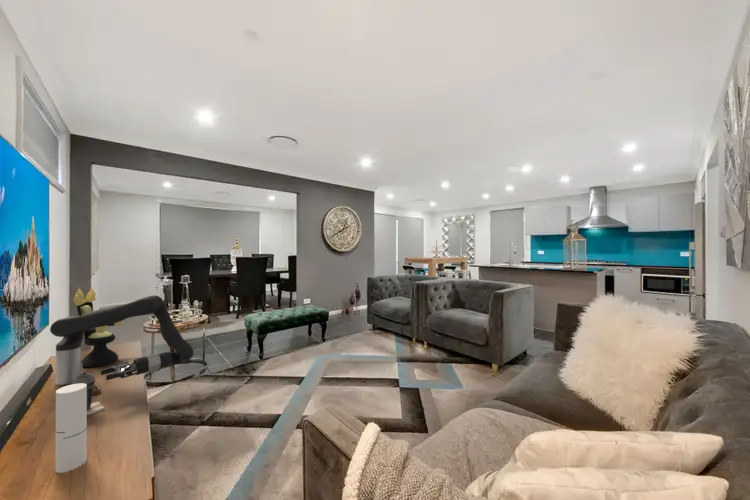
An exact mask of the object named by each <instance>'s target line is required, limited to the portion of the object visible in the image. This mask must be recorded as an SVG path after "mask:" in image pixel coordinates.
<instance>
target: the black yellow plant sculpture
mask: <svg viewBox="0 0 750 500" xmlns="http://www.w3.org/2000/svg"><path fill="white" fill-rule="evenodd" d="M96 300H97V298H96V292H95V291H94V289H93V287H91V288H90V290H89V291H88V293H87V294H86V296H85V294H84V292H83V291H82V290H81V289H80V288H78V289H77V292H75V294H74V296H73V299H72V301H73V304H75V305H76V310H77V314H78V315H77V316H81V315H84V314H87V313H89V312H92V311H94V305H93V302H95V301H96ZM124 321H125V320H123V321H120V322H117V323H114V324H110V325H107V326H102V327H97V328H91V329H85V330H84V333H83V342H84V345H86V346H92V347H93V348H92V350H91V351H90V352H89V353H88V354H86V355H85V356H84V357H83V358H82V359H81V363H82V366H83V367H84V366H85V367H84V368H93V367H92V366H97V367H101V366H100V365H102V366H106V365H109V364H108V363H110V364H112V363H114V362H115V360H116V361H117V360H118V359H119V355H118V354H117V353H116V352H115V351H113V350H112V349H111V348H110V349H109V348H108V346H107V344H109V343H112V342H114V341H115V339H116V335H115V334H114V333H112V332H111V331H106V329H107V328H108V327H113V326H117V327H118V326H123V325H124V324H123V322H124ZM111 362H112V363H111ZM105 364H106V365H105Z"/></svg>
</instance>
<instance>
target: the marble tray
mask: <svg viewBox="0 0 750 500" xmlns="http://www.w3.org/2000/svg"><path fill="white" fill-rule="evenodd" d="M99 394H102V388H101V387H100V386H99V385H98V384H97V383H95V382H94V386H93V393H92V397H93V396H95V395H99Z"/></svg>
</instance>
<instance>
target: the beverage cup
mask: <svg viewBox="0 0 750 500" xmlns="http://www.w3.org/2000/svg"><path fill="white" fill-rule="evenodd" d="M95 382H96V378H95V376H94V375H93V374H92V373H90V372H84V366H82V363H81V374H79V375H78V376H76V377H75V379H74V380H73V382H72V383H71V385H72V384H79V383H84V384H87V411H88V410H89V409H90V408H91V403H93V402H92V400H93V396H92V393H93V386H94V384H95Z"/></svg>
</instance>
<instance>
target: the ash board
mask: <svg viewBox="0 0 750 500" xmlns="http://www.w3.org/2000/svg"><path fill="white" fill-rule="evenodd" d="M102 411H105V406H103V405H102V403H100V401H98V400H97V401H94V402H91V408H90V409H89V410H88V411H87V416H89V415H93V414H96V413H99V412H102Z"/></svg>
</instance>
